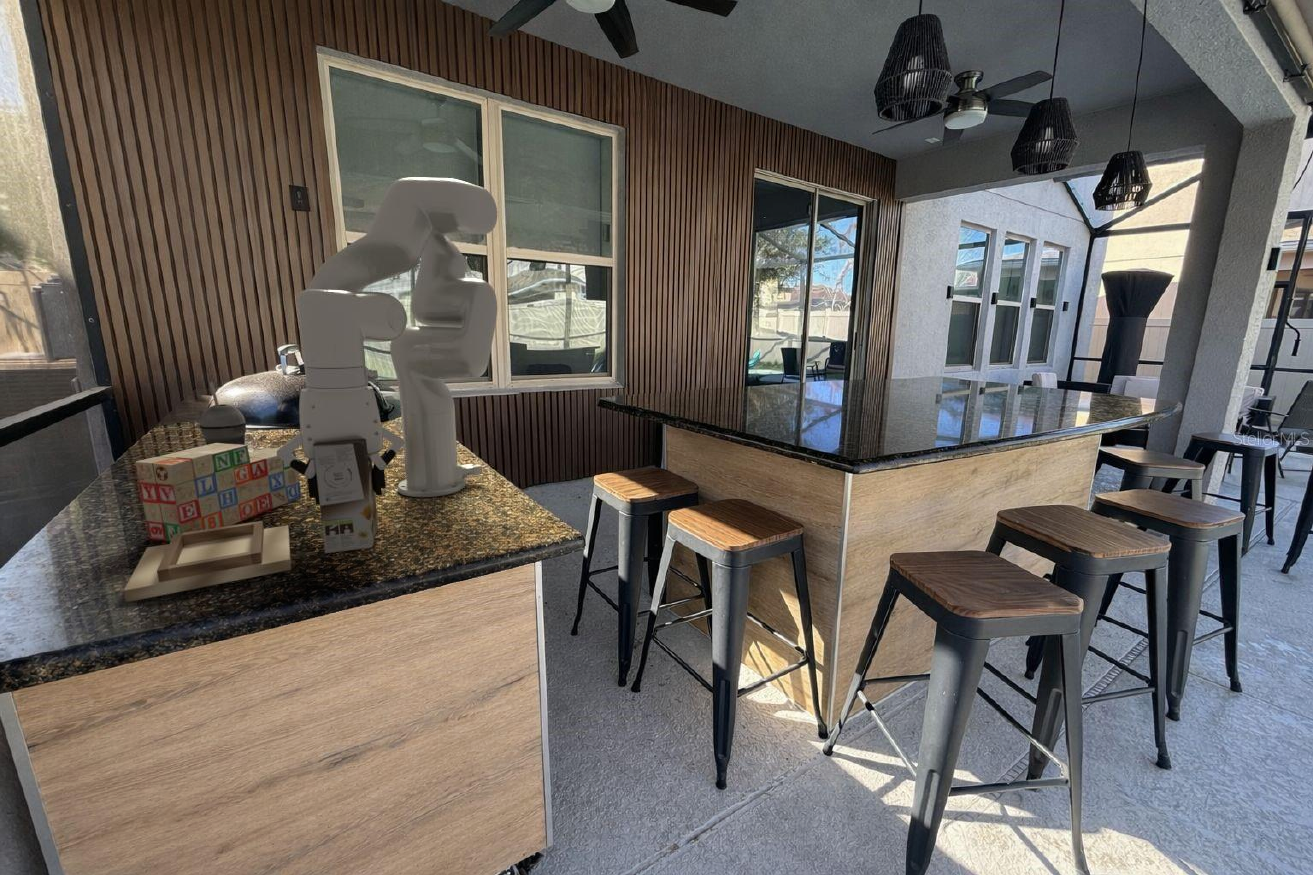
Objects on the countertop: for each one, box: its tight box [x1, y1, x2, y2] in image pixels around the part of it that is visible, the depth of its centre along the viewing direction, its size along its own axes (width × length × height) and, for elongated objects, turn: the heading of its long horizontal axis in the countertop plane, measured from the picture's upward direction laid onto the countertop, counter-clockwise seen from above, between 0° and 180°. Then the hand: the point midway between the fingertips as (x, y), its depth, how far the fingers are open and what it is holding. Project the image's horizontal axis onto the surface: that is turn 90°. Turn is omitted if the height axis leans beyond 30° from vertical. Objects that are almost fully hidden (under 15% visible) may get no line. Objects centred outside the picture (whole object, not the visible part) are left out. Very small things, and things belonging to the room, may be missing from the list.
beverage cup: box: [198, 381, 248, 445], centre depth 105 cm, size 7×7×20 cm
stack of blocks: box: [135, 443, 302, 542], centre depth 88 cm, size 21×6×12 cm, turn 170°
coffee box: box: [313, 439, 379, 554], centre depth 80 cm, size 9×6×16 cm
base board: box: [123, 520, 292, 603], centre depth 72 cm, size 16×14×3 cm
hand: (348, 496), depth 80 cm, fingers closed on coffee box, 7 cm apart
